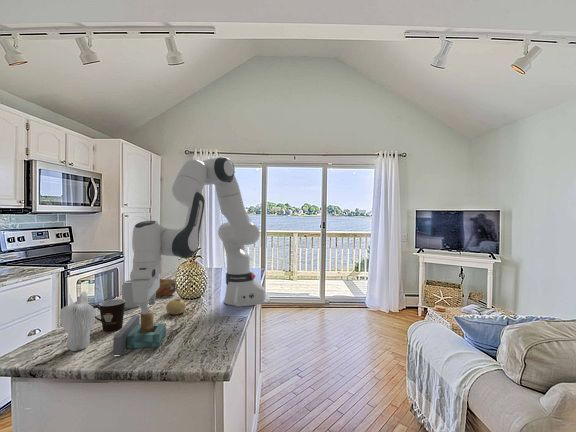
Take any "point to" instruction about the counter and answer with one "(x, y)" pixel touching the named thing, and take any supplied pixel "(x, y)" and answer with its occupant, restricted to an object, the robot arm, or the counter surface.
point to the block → (146, 337)
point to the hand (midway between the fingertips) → (148, 308)
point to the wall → (124, 335)
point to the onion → (176, 306)
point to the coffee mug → (111, 314)
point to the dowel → (147, 322)
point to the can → (128, 295)
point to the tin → (166, 287)
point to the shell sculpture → (78, 322)
